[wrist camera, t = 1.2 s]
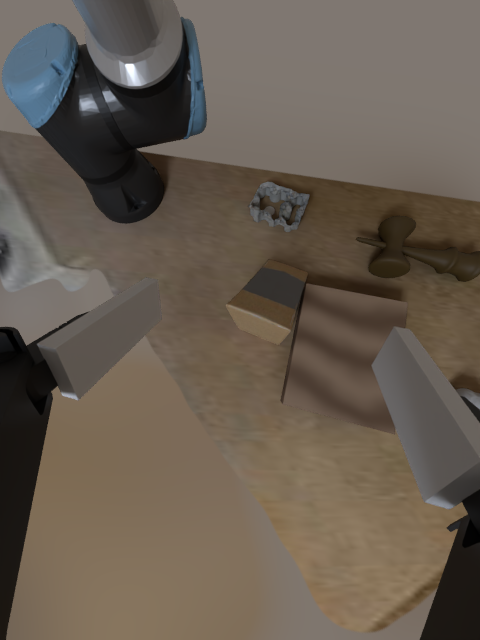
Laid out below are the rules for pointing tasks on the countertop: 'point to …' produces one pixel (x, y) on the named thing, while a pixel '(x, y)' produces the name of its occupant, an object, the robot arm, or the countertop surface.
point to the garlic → (470, 396)
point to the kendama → (416, 253)
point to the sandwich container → (269, 301)
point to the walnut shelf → (340, 355)
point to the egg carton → (285, 208)
